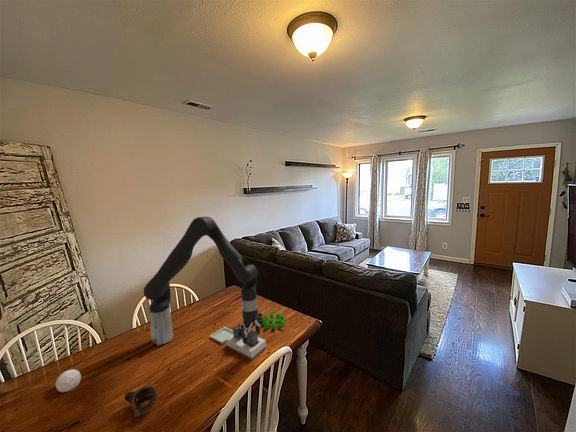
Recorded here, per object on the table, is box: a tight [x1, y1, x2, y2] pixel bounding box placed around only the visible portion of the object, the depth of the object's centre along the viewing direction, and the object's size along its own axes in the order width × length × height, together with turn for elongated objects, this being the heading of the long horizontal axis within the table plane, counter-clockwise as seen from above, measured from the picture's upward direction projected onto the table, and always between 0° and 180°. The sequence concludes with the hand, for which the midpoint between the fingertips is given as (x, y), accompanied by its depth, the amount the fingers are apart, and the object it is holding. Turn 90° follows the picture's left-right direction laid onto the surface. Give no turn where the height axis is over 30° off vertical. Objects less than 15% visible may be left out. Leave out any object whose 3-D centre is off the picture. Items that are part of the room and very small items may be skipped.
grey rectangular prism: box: [247, 329, 259, 347], centre depth 118 cm, size 4×4×8 cm
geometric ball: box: [55, 368, 82, 393], centre depth 99 cm, size 8×8×8 cm
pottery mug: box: [124, 385, 159, 418], centre depth 90 cm, size 12×9×8 cm
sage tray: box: [209, 326, 233, 345], centre depth 132 cm, size 10×10×1 cm
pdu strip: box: [225, 324, 267, 361], centre depth 121 cm, size 10×18×9 cm, turn 55°
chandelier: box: [261, 311, 287, 330], centre depth 141 cm, size 15×15×7 cm
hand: (251, 338), depth 118 cm, fingers open, 8 cm apart
